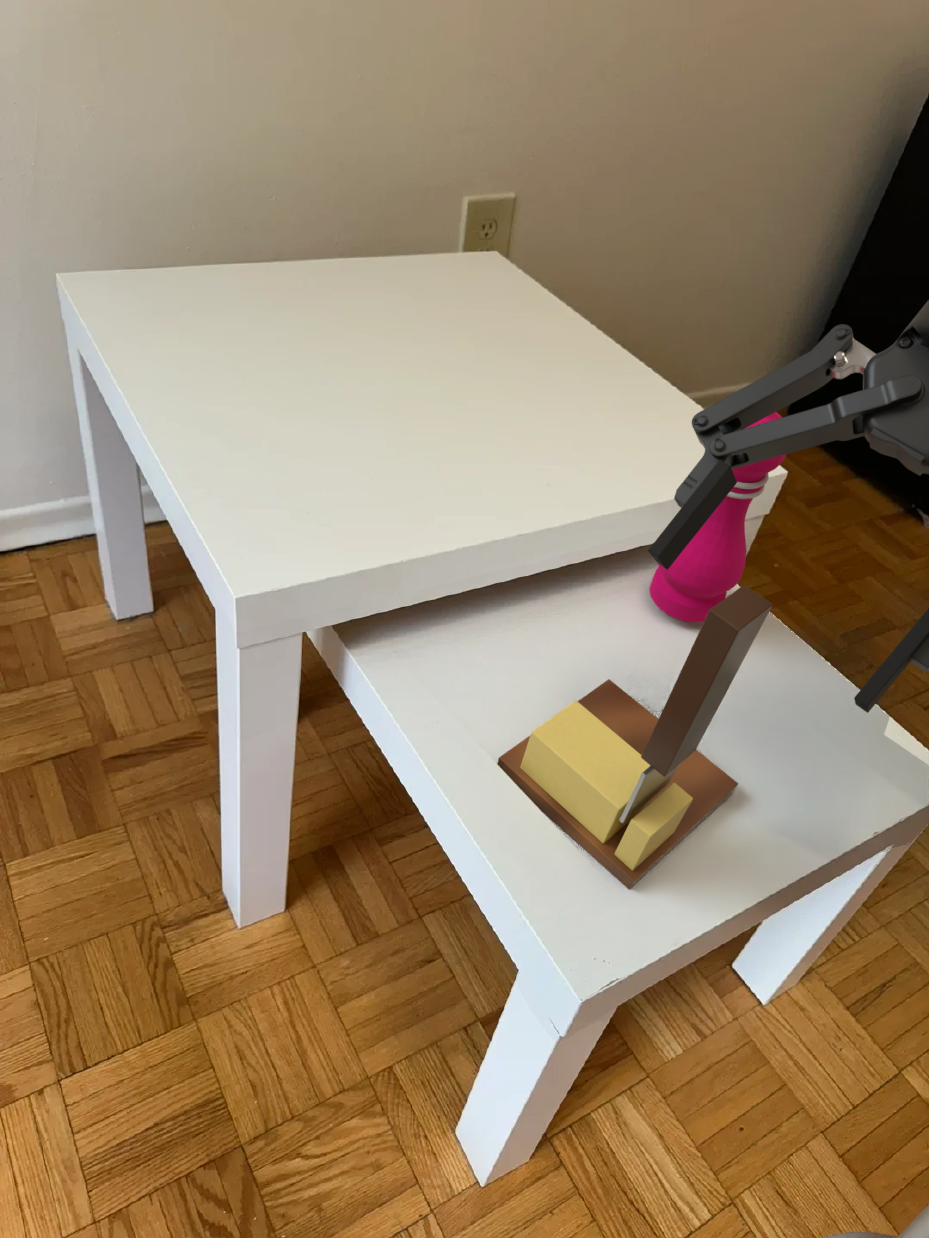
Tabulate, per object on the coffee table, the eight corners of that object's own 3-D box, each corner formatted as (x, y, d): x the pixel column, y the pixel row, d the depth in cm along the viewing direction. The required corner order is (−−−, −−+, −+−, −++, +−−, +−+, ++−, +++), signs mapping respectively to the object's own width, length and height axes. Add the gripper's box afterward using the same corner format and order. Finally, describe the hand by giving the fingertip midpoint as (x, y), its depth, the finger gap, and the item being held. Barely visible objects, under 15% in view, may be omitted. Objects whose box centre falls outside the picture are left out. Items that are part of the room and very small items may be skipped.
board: (731, 795, 66) (738, 783, 65) (627, 893, 59) (633, 881, 58) (603, 691, 71) (608, 678, 70) (494, 770, 64) (498, 757, 63)
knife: (677, 791, 59) (781, 597, 47) (631, 832, 57) (729, 637, 45) (656, 773, 60) (752, 578, 48) (609, 812, 57) (700, 615, 46)
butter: (674, 832, 61) (693, 798, 58) (632, 871, 59) (650, 837, 56) (562, 735, 66) (576, 699, 63) (519, 768, 63) (531, 731, 60)
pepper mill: (661, 561, 84) (735, 356, 70) (736, 595, 82) (827, 390, 68) (630, 602, 79) (704, 390, 66) (710, 639, 77) (803, 428, 63)
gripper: (1231, 458, 47) (956, 781, 49) (813, 257, 58) (602, 527, 60) (1289, 396, 41) (967, 772, 42) (804, 182, 52) (567, 488, 53)
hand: (752, 629), depth 51 cm, fingers open, 13 cm apart
